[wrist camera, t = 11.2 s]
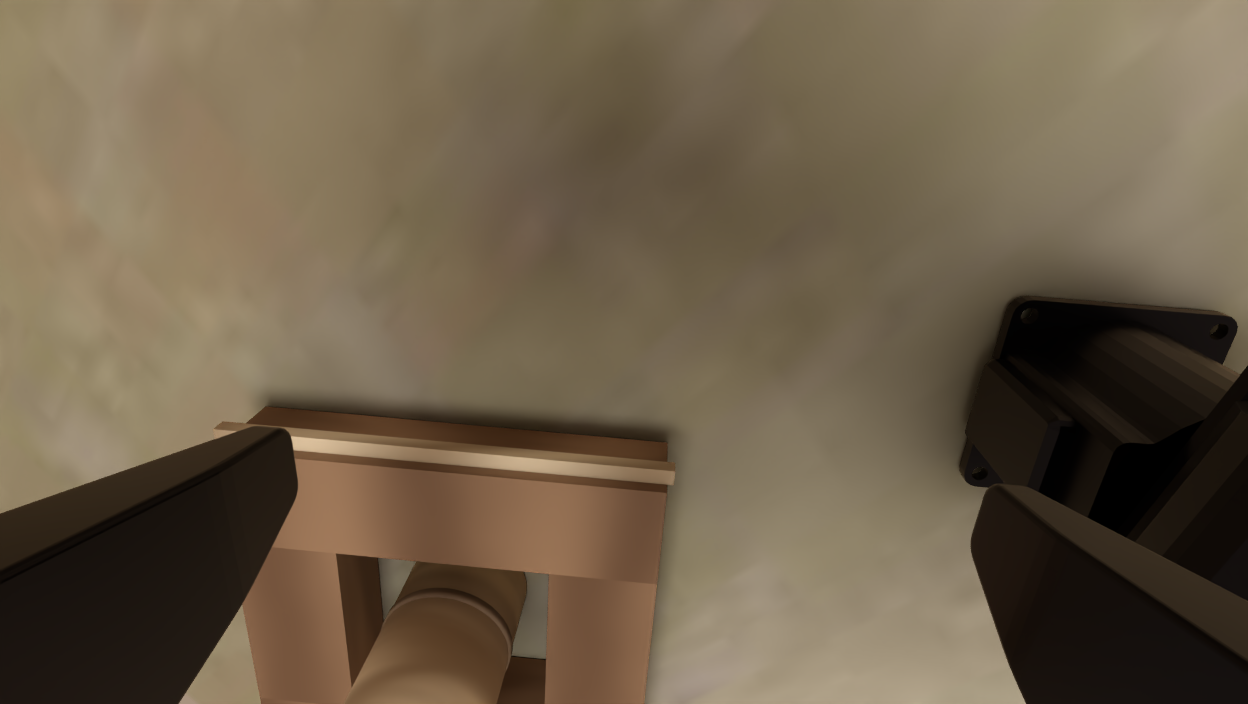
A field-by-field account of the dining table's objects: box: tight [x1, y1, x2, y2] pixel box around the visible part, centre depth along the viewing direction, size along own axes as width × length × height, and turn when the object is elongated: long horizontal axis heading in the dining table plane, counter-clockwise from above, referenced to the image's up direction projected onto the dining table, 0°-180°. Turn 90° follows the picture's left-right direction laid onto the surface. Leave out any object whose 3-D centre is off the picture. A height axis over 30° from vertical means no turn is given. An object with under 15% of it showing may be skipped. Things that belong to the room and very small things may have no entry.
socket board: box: [213, 407, 675, 704], centre depth 25 cm, size 14×15×3 cm
